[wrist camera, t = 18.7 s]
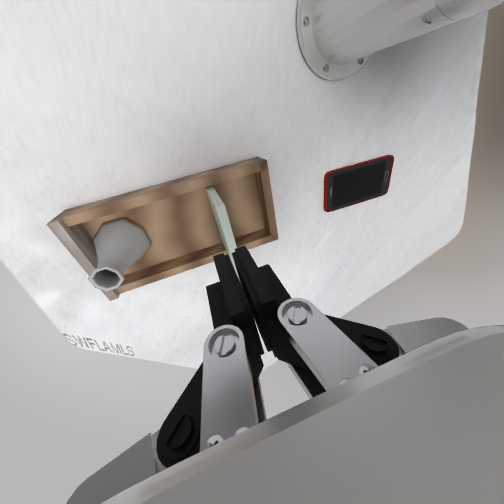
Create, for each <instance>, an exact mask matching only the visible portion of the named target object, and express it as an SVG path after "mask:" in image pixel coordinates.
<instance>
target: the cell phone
mask: <svg viewBox="0 0 504 504" xmlns="http://www.w3.org/2000/svg"><path fill="white" fill-rule="evenodd" d="M393 162H394V157H393V155H387V156H383V157H379V158H376V159H372V160H368V161H365V162H361V163H357V164H355V165H353V166H346V167H343V168H339V169H336V170H332V171H329V172H327V173H326V174H325V177H324V210H325V211H326V212H331V211H335V210H338V209H341V208H344V207H345V206H346V207H348V206H351V205H354V204H357V203H360V202H364V201H367V200H370V199H373V198H376V197H380V196H383V195H385V194H386V193H387V192H388V188H389V183H390V178H391V172H392V167H393Z"/></svg>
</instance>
